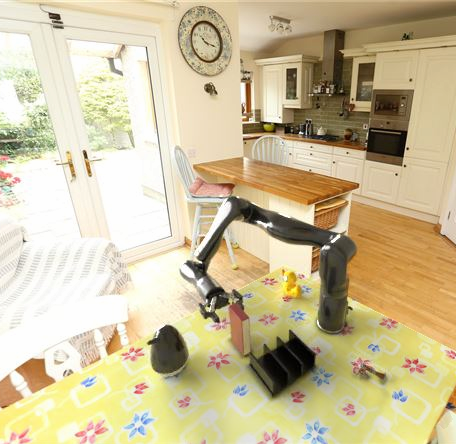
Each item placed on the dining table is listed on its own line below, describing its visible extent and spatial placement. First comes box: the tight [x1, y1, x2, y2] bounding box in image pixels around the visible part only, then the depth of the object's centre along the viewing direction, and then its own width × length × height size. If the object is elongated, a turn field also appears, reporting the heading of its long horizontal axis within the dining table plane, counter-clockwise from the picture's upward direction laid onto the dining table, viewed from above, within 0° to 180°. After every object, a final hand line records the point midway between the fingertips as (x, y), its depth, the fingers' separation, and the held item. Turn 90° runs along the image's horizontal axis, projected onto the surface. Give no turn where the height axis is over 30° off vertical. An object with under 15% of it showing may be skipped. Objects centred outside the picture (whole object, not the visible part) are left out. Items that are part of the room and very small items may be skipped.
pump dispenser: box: [146, 323, 190, 378], centre depth 81 cm, size 10×10×15 cm
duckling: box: [281, 269, 303, 299], centre depth 114 cm, size 11×5×10 cm, turn 39°
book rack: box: [248, 329, 317, 398], centre depth 84 cm, size 16×12×6 cm
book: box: [228, 302, 252, 357], centre depth 89 cm, size 3×8×14 cm, turn 37°
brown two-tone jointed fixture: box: [355, 362, 388, 383], centre depth 82 cm, size 2×8×4 cm, turn 81°
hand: (231, 315), depth 93 cm, fingers open, 8 cm apart
